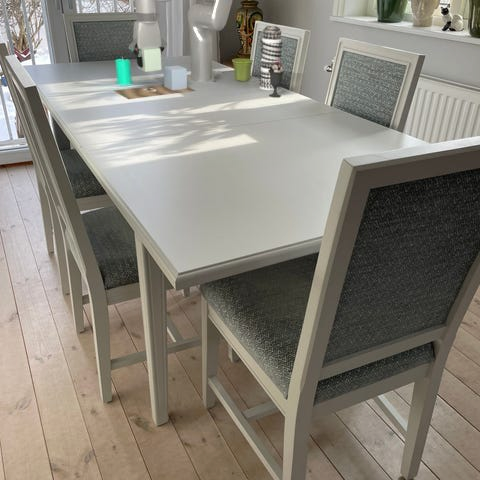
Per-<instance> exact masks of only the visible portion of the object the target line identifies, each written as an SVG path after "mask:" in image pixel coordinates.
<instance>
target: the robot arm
mask: <svg viewBox="0 0 480 480" xmlns="http://www.w3.org/2000/svg"><path fill="white" fill-rule="evenodd" d="M170 1H171V0H134V9H135V19H136V20H135V21H133V22H134V23H133V31H132V32H133V33H132V34H133V35H132V38H133V40H132V41H131V43H130V44H129V45H128V47H127V48H128V49H129V50H130V52H132V53H133V54H134V55H135V56H136V63H137V67H138V66H139V67H141V68H142V67H143V60H142V57H141V54H142V50H144V49H154V48H160V52H161V55H162V54H163V51H165V48H166V47H167V45H168V44H167V42H166V41H165V40H164V39H163V38H162V37H161V30H160V27H159V26H160V25H159V21H157V18H160V14H159V13H157V12H156V3H157V2H159V3H168V2H170ZM201 1H202V2H203V3H208V4H201V3H197V4H194V5H191V6H190V7H189V9H188V12H187V21H188V26H189V27H188V28H189V35H190V39H189V40H190V76H187V81H190V82H194V83H210V82H213V83H216V78H215V77H216V76H217V77H218V76H222V71H221V70H217V71H216V70H214V69H213V35H212V33H211V31H213V32H218V31H219V32H220V31H222V30H224V27H225V26H226V24H227V22H228V19H229V14H230V10H231V8H232V4H233V0H201ZM211 4H213V5H211ZM136 48H137V50H136Z"/></svg>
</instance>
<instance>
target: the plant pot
mask: <svg viewBox="0 0 480 480" xmlns="http://www.w3.org/2000/svg"><path fill="white" fill-rule="evenodd" d="M231 62H232V64H233V69H234V78H235V81H237V82H239V81H240V82H248V81H249V79H250V74H251V73H250V72H251V67H252V65H253V62H254V60H253V59H249V58H234V59H231Z"/></svg>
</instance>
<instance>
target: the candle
mask: <svg viewBox="0 0 480 480" xmlns="http://www.w3.org/2000/svg"><path fill="white" fill-rule="evenodd" d="M121 57H122V58H118V59H115V71H116V79H117V81H116V82H117V85H120V86H128V85H132V73H131V71H132V70H131V60H129V59H128V58H125V59H124V58H123V56H121Z"/></svg>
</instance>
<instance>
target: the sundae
mask: <svg viewBox="0 0 480 480" xmlns="http://www.w3.org/2000/svg"><path fill="white" fill-rule="evenodd" d="M279 59H280V60H279V61H278V62H279V64H278V62H276V63H275V64H274V65H273V66H272V67H271V66H270V67H269V69H270V70H268V71H269V73H270V80H271V85H272V86H273V87H274V90H273V91H272V93H271V94H269V95H268V96H269V97H270V98H280V97H281V96H282V95H281V94H279V93H278V92H277V90H278V89H277V87H278V88H279V86H280V85H281V84H282V79H283V75H284V73H285V71H284V68H283V66H282V63H281V60H282V57H279Z"/></svg>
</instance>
